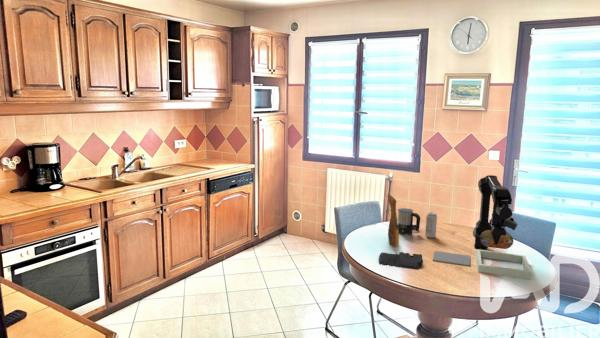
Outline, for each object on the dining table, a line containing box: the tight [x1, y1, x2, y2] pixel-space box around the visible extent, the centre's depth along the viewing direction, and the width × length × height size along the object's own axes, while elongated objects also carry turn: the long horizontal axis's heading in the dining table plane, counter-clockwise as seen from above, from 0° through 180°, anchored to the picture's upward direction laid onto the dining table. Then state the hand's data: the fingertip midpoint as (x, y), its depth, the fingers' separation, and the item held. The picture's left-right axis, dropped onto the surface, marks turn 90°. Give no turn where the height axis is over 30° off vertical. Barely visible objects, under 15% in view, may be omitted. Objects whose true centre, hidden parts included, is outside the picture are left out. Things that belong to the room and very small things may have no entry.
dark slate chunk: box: [378, 251, 424, 270], centre depth 210 cm, size 15×22×5 cm
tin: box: [480, 230, 514, 250], centre depth 205 cm, size 15×3×8 cm, turn 69°
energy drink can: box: [424, 211, 438, 239], centre depth 249 cm, size 6×6×15 cm
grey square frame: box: [476, 248, 533, 280], centre depth 205 cm, size 23×23×4 cm
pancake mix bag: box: [387, 193, 400, 248], centre depth 237 cm, size 7×19×28 cm, turn 173°
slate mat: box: [432, 250, 471, 267], centre depth 215 cm, size 18×14×1 cm
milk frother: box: [397, 207, 421, 235], centre depth 259 cm, size 14×16×15 cm
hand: (495, 243), depth 205 cm, fingers closed on tin, 2 cm apart
